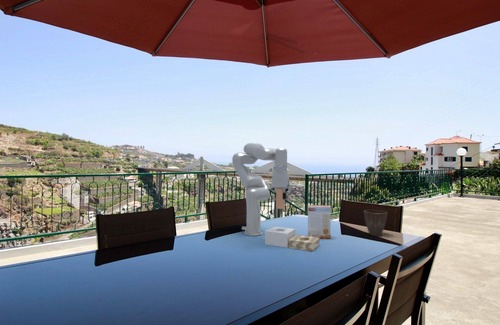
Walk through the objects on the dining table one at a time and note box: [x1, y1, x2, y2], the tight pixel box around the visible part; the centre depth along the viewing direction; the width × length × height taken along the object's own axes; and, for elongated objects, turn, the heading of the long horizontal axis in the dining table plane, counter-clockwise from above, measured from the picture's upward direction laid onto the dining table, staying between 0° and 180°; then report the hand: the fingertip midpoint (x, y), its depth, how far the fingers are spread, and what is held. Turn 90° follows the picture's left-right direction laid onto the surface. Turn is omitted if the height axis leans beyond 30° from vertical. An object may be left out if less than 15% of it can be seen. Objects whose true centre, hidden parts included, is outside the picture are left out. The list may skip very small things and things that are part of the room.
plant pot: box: [363, 209, 388, 237], centre depth 199 cm, size 15×15×16 cm
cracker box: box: [307, 204, 331, 240], centre depth 190 cm, size 14×6×21 cm, turn 84°
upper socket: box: [264, 226, 296, 249], centre depth 176 cm, size 14×14×8 cm
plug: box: [275, 188, 286, 210], centre depth 176 cm, size 4×4×12 cm
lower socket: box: [288, 234, 321, 252], centre depth 169 cm, size 14×14×4 cm
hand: (280, 198), depth 176 cm, fingers closed on plug, 4 cm apart
